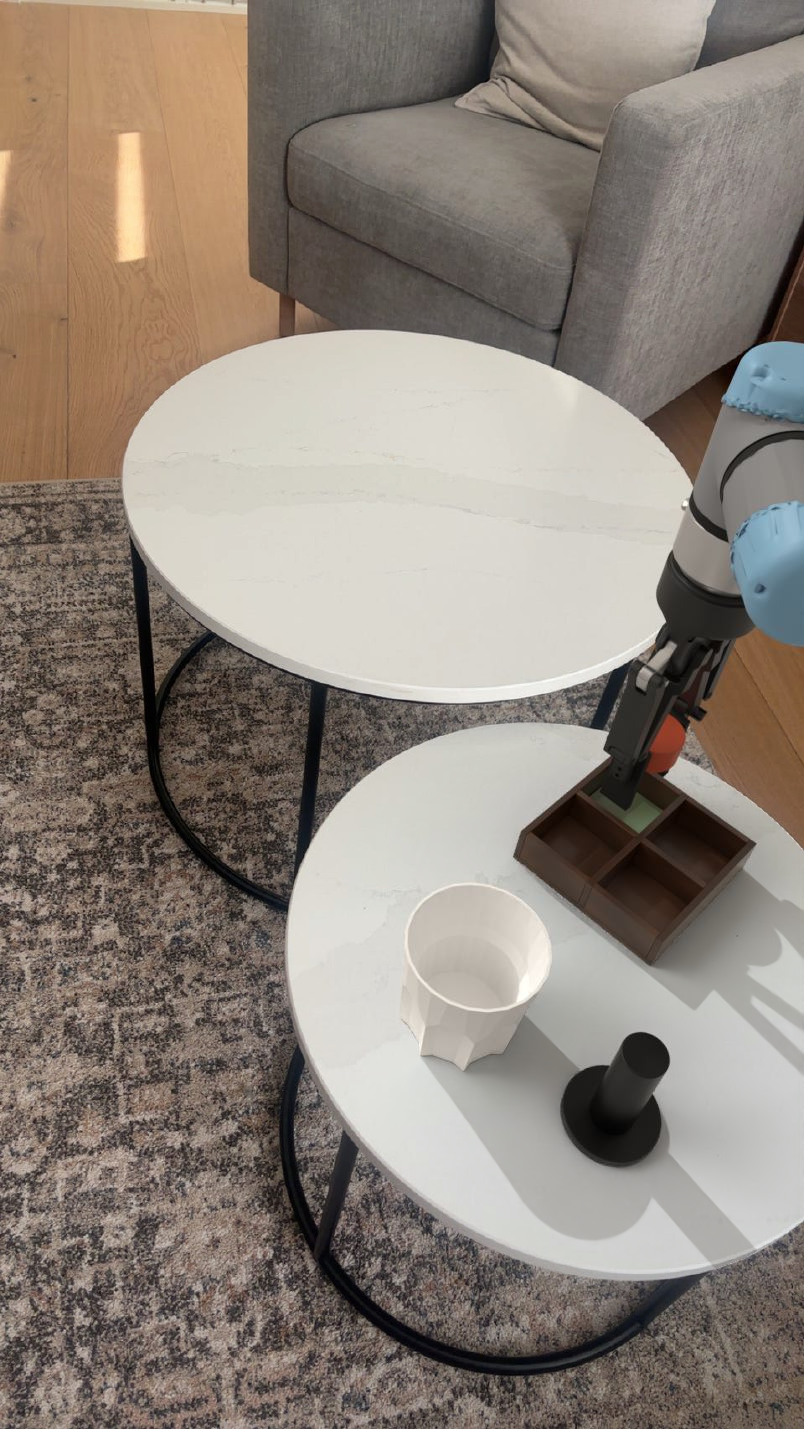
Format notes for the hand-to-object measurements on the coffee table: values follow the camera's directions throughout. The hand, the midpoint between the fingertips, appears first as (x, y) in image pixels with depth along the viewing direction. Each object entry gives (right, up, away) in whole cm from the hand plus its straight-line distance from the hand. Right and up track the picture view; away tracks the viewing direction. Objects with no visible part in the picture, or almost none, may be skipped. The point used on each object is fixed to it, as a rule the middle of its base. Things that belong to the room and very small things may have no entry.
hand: (634, 782), depth 92 cm
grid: (0, -7, 0) cm, 7 cm away
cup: (-16, -17, -12) cm, 26 cm away
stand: (-5, -23, -16) cm, 28 cm away
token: (0, +3, -3) cm, 4 cm away
